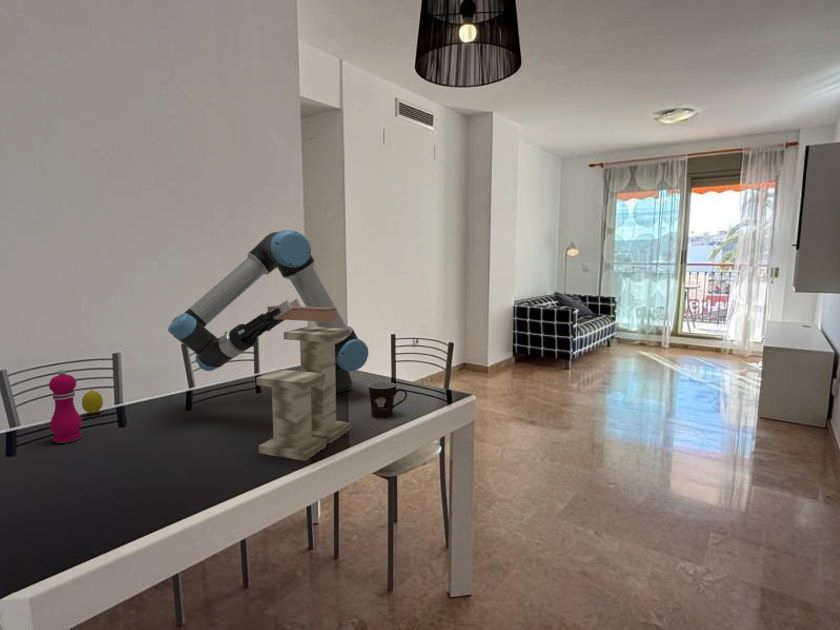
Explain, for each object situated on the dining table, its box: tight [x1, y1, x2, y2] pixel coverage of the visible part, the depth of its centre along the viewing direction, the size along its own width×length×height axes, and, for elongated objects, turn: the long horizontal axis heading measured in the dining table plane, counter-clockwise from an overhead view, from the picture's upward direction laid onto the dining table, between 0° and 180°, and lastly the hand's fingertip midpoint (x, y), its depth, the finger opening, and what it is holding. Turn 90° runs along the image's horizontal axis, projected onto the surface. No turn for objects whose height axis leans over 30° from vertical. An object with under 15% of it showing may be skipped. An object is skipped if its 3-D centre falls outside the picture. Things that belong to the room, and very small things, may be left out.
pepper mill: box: [48, 368, 83, 443], centre depth 132 cm, size 7×7×20 cm
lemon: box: [81, 389, 104, 414], centre depth 155 cm, size 6×6×8 cm
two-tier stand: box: [255, 326, 352, 462], centre depth 132 cm, size 14×24×30 cm, turn 160°
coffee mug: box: [368, 381, 408, 419], centre depth 154 cm, size 12×9×10 cm
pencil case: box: [267, 305, 337, 322], centre depth 137 cm, size 20×4×4 cm, turn 70°
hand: (294, 303), depth 137 cm, fingers closed on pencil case, 4 cm apart
